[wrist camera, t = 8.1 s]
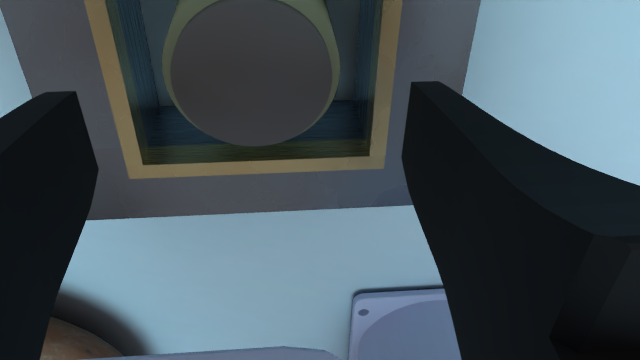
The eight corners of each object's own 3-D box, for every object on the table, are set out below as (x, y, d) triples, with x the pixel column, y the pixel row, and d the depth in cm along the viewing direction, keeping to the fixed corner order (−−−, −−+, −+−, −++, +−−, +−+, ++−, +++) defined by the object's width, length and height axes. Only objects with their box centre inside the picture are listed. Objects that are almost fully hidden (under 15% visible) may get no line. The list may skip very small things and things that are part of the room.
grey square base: (423, 163, 22) (447, 222, 19) (92, 176, 21) (67, 240, 18) (491, -245, 14) (548, -244, 11) (-40, -255, 13) (-120, -257, 10)
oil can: (321, 69, 19) (337, 151, 15) (191, 71, 19) (173, 156, 15) (325, -68, 16) (347, -11, 12) (173, -69, 16) (144, -10, 12)
